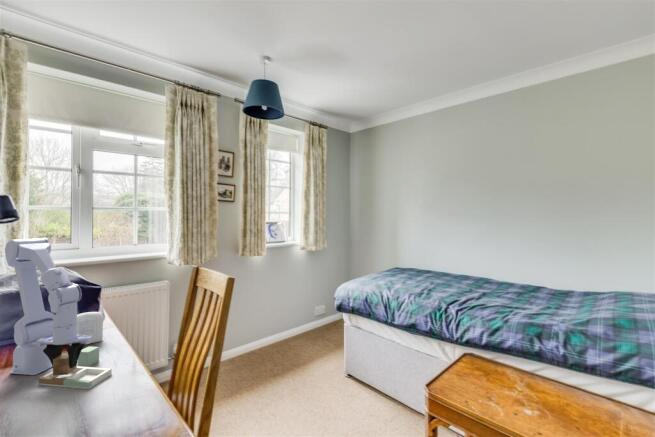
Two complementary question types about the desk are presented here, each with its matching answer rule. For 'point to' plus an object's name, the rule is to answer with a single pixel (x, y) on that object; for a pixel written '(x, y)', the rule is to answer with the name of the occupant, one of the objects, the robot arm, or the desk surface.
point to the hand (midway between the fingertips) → (65, 367)
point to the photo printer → (90, 325)
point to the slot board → (77, 377)
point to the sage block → (88, 356)
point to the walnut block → (62, 365)
